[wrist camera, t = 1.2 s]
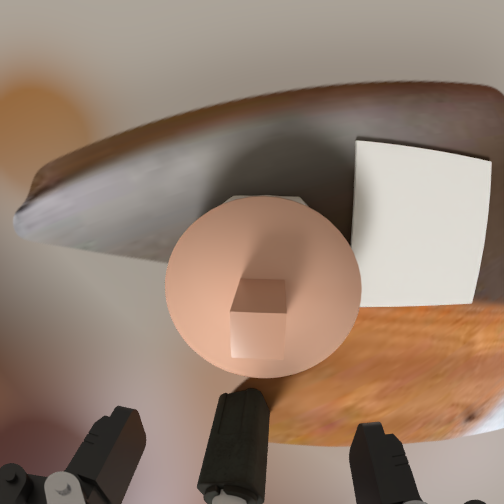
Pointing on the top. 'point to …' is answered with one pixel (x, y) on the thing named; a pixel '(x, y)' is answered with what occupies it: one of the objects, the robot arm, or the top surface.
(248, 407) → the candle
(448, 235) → the mat
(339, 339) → the lid
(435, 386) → the top surface
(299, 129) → the top surface
